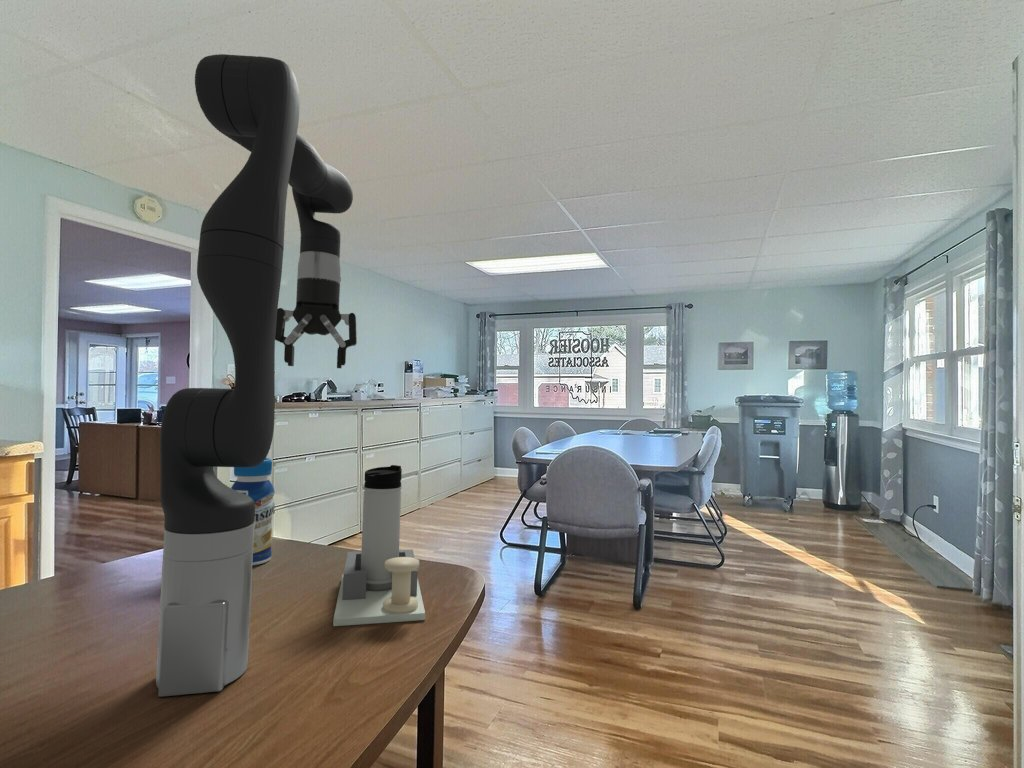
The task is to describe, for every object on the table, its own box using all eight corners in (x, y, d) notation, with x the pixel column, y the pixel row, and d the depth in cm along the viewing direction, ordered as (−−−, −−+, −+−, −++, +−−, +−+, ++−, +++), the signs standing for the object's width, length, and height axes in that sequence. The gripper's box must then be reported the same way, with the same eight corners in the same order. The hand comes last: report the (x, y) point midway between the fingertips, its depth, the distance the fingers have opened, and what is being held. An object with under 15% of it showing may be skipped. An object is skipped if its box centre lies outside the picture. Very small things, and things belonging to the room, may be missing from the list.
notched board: (425, 619, 78) (426, 566, 79) (333, 626, 75) (335, 571, 76) (415, 576, 98) (417, 533, 98) (342, 579, 95) (344, 535, 95)
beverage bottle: (254, 552, 109) (258, 455, 110) (281, 559, 105) (286, 459, 106) (214, 562, 102) (220, 459, 103) (242, 570, 98) (247, 462, 99)
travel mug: (407, 583, 91) (411, 466, 92) (378, 594, 85) (382, 470, 86) (381, 575, 94) (385, 463, 95) (352, 586, 89) (356, 466, 90)
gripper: (273, 272, 93) (269, 364, 93) (357, 279, 96) (353, 367, 96) (281, 281, 100) (278, 366, 100) (359, 287, 104) (356, 369, 103)
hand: (315, 367), depth 98 cm, fingers open, 8 cm apart
